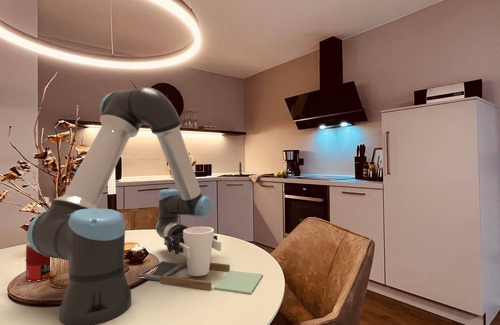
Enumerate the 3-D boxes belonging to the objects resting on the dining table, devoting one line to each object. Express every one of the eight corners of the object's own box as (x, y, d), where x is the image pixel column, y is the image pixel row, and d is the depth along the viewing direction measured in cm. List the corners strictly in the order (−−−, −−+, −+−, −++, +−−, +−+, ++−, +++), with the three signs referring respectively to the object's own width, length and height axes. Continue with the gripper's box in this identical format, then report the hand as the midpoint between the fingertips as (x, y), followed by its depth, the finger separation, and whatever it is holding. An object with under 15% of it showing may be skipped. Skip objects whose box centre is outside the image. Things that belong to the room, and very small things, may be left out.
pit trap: (162, 281, 81) (162, 277, 81) (136, 278, 83) (136, 274, 83) (184, 266, 93) (184, 263, 93) (162, 263, 96) (162, 260, 96)
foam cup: (180, 268, 87) (180, 228, 87) (209, 264, 91) (209, 225, 91) (186, 280, 79) (186, 235, 79) (217, 275, 82) (217, 232, 82)
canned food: (45, 282, 81) (45, 245, 81) (18, 282, 81) (19, 244, 81) (63, 272, 88) (63, 238, 89) (39, 272, 89) (39, 238, 89)
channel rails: (210, 290, 75) (210, 283, 75) (160, 283, 80) (160, 276, 80) (229, 270, 90) (229, 264, 90) (186, 265, 94) (186, 259, 94)
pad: (251, 294, 73) (251, 292, 73) (213, 289, 76) (213, 287, 76) (262, 275, 85) (262, 274, 85) (230, 271, 89) (230, 270, 89)
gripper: (205, 239, 106) (236, 255, 88) (146, 250, 93) (168, 270, 75) (205, 220, 106) (236, 231, 88) (146, 228, 93) (168, 243, 75)
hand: (204, 249), depth 81 cm, fingers closed on foam cup, 9 cm apart
